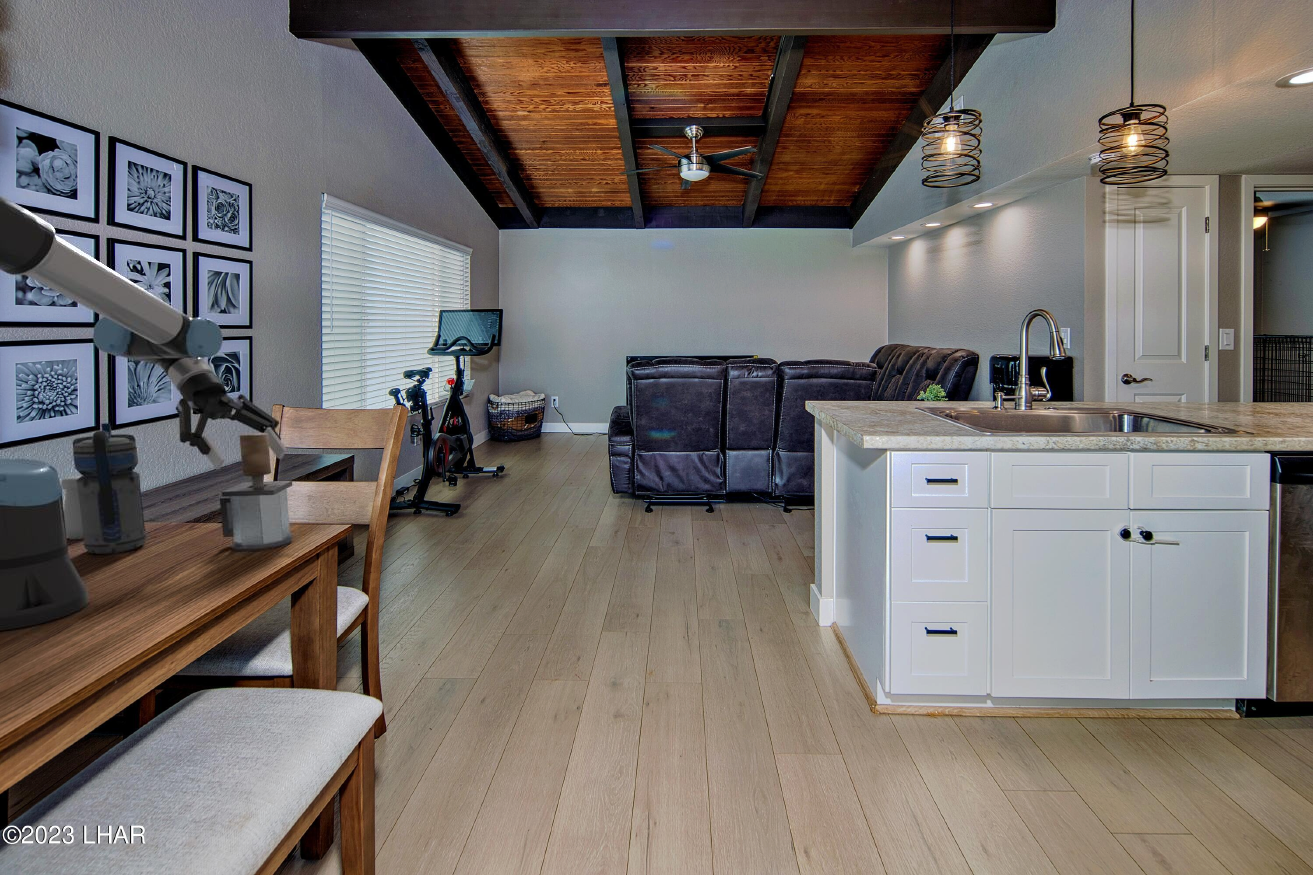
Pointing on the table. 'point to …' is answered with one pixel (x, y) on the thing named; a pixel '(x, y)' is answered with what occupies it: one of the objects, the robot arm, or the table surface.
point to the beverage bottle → (109, 492)
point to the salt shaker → (72, 509)
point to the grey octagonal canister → (256, 516)
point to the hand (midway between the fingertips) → (253, 459)
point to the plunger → (255, 457)
